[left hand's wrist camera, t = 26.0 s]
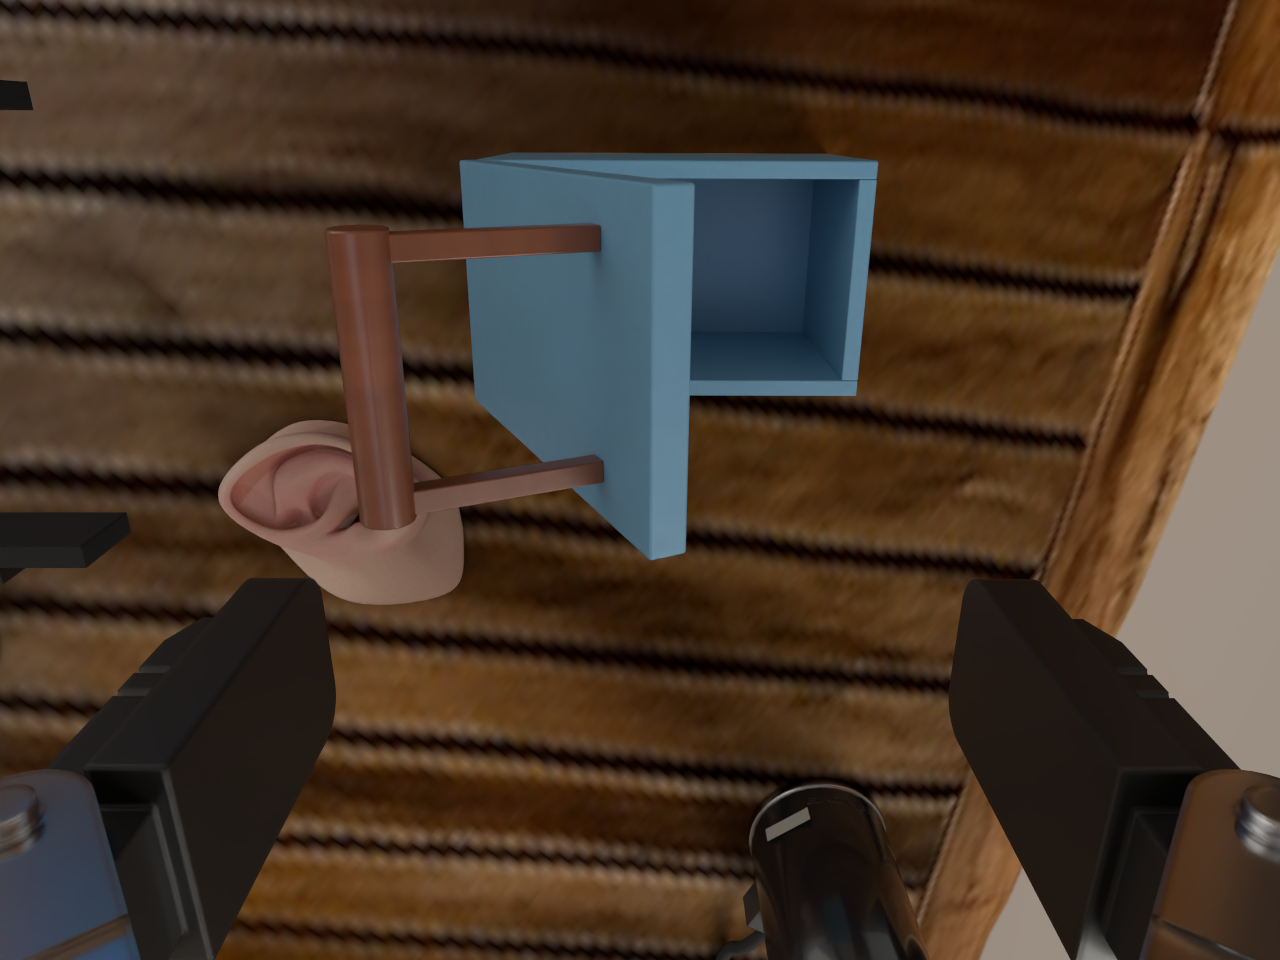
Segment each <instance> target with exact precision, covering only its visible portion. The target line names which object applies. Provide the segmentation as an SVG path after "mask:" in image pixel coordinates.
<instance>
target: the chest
mask: <svg viewBox="0 0 1280 960" xmlns="http://www.w3.org/2000/svg"><path fill="white" fill-rule="evenodd" d="M478 160H493V161H502V162H511V163H520V164H529V165H539V166H548V167H557V168H566V169H575V170H585V171H594V172H603V173H612V174H621V175H630V176H640V177H649V178H658V179H667V180H676V181H686V182H692V183H694V185H695V198H694V238H693V277H692V317H691V357H690V395H763V396H856V390H857V379H858V369H859V359H860V349H861V338H862V328H863V318H864V307H865V297H866V286H867V276H868V266H869V255H870V245H871V234H872V224H873V214H874V203H875V193H876V183H877V180H876V178H877V170H878V161H874V160H867V159H859V158H852V157H845V156H838V155H830V154H807V153H558V152H510V153H508V154H503V155H498V156H492V157H487V158H482V159H478Z"/></svg>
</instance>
